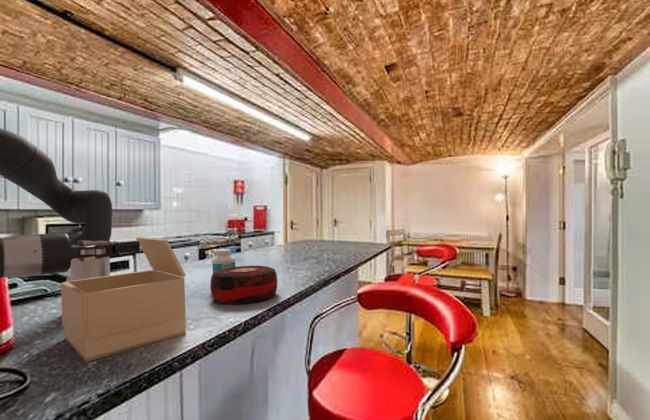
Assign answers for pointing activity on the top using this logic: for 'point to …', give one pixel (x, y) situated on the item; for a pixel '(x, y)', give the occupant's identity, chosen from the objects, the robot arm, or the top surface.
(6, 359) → the top surface
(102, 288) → the carton
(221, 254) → the pill bottle
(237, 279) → the wheel
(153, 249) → the carton flap
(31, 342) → the top surface
